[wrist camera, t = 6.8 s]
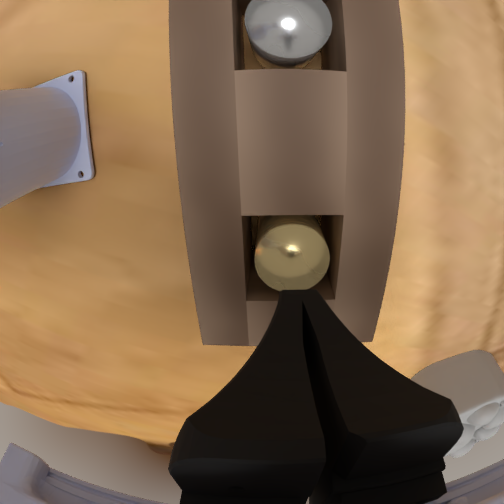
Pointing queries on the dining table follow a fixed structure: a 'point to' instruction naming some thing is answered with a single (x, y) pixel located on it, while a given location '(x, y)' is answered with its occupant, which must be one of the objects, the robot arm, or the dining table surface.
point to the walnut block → (287, 159)
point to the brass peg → (290, 251)
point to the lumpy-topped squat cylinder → (469, 394)
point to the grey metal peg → (287, 31)
